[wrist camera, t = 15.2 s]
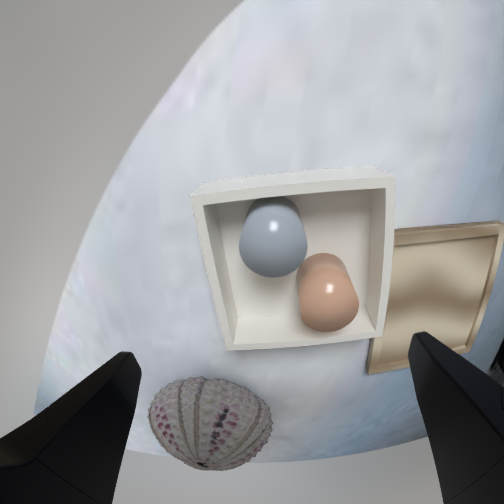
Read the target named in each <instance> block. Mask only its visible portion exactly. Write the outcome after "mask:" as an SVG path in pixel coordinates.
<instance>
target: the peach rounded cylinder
mask: <svg viewBox="0 0 504 504" xmlns="http://www.w3.org/2000/svg"><path fill="white" fill-rule="evenodd" d="M297 286H298V295H299V304H300V313H301V317H302V320H303V322H304V323H305V324H306V325H307V326H308V327H309V328H311V329H313V330H315V331H319V332H333V331H337V330H340V329H342V328H344V327H345V326H347V325H348V324H350V323H351V322H352V321H353V320H354V318H355V317H356V315H357V313H358V310H359V299H358V296H357V294H356V291H355V289H354V286H353V284H352V282H351V279H350V277H349V274H348V272H347V270H346V267H345V265H344V263H343V262H342V260H341V259H340V258H338V257H337V256H335V255H333V254H329V253H318V254H314V255H312V256H310V257H308V258H307V259H305V260H304V261H303V263H302V264H301V265H300V266H299V268H298V271H297Z"/></svg>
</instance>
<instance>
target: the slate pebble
mask: <svg viewBox="0 0 504 504" xmlns="http://www.w3.org/2000/svg"><path fill="white" fill-rule="evenodd" d="M307 249H308V244H307V238H306V234H305V231H304V227H303V223H302V219H301V215H300V212H299V210H298V208H297V207H296V205H295V204H294V203H293V202H292V201H291V200H289V199H288V198H286V197H283V196H276V197H266V198H259V199H257V200H256V201H255V202H253V204H252V205H251V206H250V207H249V209H248V211H247V214H246V218H245V221H244V225H243V229H242V232H241V236H240V240H239V252H240V256H241V258H242V260H243V262H244V263H245V265H246V266H247V267H248V268H249V269H250V270H252V271H253V272H255V273H256V274H259V275H261V276H265V277H272V278H274V277H282V276H285V275H288V274H290V273H292V272H294V271H295V270H296V269H297V268H298V267H299V266H300V265H301V264H302V263H303V261H304V259H305V257H306V254H307Z"/></svg>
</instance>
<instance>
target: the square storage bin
mask: <svg viewBox="0 0 504 504" xmlns="http://www.w3.org/2000/svg"><path fill="white" fill-rule="evenodd" d="M276 196H283V197H286V198H288V199H289V200H291V201H292V202H293V203H294V204H295V205H296V207H297V208H298V210H299V212H300V215H301V219H302V223H303V227H304V231H305V234H306V238H307V244H308V249H307V254H306V257H305V259H307V258H308V257H310V256H312V255H314V254H318V253H329V254H333V255H335V256H337V257H338V258H340V259H341V260H342V262H343V263H344V265H345V267H346V270H347V272H348V274H349V277H350V279H351V282H352V284H353V286H354V289H355V291H356V294H357V296H358V299H359V310H358V313H357V315H356V317H355V318H354V320H353V321H352V322H351V323H350V324H348V325H347V326H345V327H344V328H342V329H340V330H337V331H333V332H319V331H315V330H313V329H311V328H309V327H308V326H307V325H306V324H305V323H304V322H303V320H302V317H301V313H300V304H299V295H298V286H297V271H298V268H299V267H298V268H297V269H296V270H295V271H294V272H292V273H290V274H288V275H285V276H282V277H274V278H272V277H265V276H261V275H259V274H256V273H255V272H253V271H252V270H250V269H249V268H248V267H247V266H246V265H245V263H244V262H243V260H242V258H241V256H240V252H239V240H240V236H241V232H242V229H243V225H244V221H245V218H246V214H247V211H248V209H249V207H250V206H251V205H252V204H253V202H255V201H256V200H257V199H259V198H266V197H276ZM190 198H191V203H192V208H193V213H194V217H195V222H196V227H197V231H198V236H199V240H200V245H201V249H202V254H203V258H204V262H205V267H206V271H207V275H208V279H209V283H210V288H211V292H212V296H213V300H214V304H215V308H216V312H217V316H218V320H219V323H220V327H221V331H222V335H223V339H224V342H225V346H226V350H227V351H231V350H255V349H273V348H287V347H299V346H310V345H320V344H329V343H337V342H346V341H353V340H360V339H367V338H374V337H381V336H382V335H383V329H384V323H385V317H386V310H387V303H388V295H389V287H390V278H391V268H392V257H393V244H394V226H395V176H393V175H391V174H389V173H387V172H386V171H384V170H382V169H380V168H378V167H376V166H357V167H339V168H325V169H312V170H300V171H290V172H280V173H270V174H261V175H253V176H245V177H237V178H229V179H222V180H215V181H208V182H204V183H203V184H202V185H201V186H200V187H199V188H198V189H197V190H196V191H195V192H194V193H193V194H192V195H191V196H190ZM305 259H304V260H305Z"/></svg>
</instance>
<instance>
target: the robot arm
mask: <svg viewBox="0 0 504 504" xmlns="http://www.w3.org/2000/svg"><path fill="white" fill-rule="evenodd" d="M408 360H409V364H410V369H411V373H412V378H413V382H414V387H415V392H416V397H417V400H418V404H419V407H420V410H421V414H422V417H423V420H424V424H425V427H426V431H427V434H428V438H429V441H430V445H431V449H432V453H433V457H434V461H435V465H436V469H437V474H438V478H439V483H440V488H441V492H442V497H443V503H444V504H504V387H502V386H501V385H500V384H499V383H498V382H496V381H495V380H494V379H492V378H491V377H490V376H488V375H487V374H485V373H484V372H483V371H481V370H480V369H479V368H477V367H476V366H474V365H473V364H472V363H470V362H469V361H467V360H466V359H465V358H463V357H462V356H460V355H459V354H458V353H456V352H455V351H453V350H452V349H451V348H449V347H448V346H446V345H445V344H444V343H442V342H441V341H439V340H438V339H436V338H435V337H433V336H432V335H431V334H429V333H428V332H426V331H422V332H417V333H414V334H413V336H412V339H411V343H410V347H409V350H408ZM499 368H501V369H502V371H503V372H504V342H503V344H502V347H501V349H500V351H499V353H498V355H497V357H496V359H495V361H494V363H493V365H492V367H491V369H492V371H494V370H497V369H499ZM141 374H142V372H141V368H140V366H139V364H138V362H137V360H136V358H135V356H134V355H133V353H131V352H123V351H122V352H119V353H118V354H117V355H115V356H114V357H113V358H111V359H110V360H109V361H107V362H106V363H105V364H103V365H102V366H101V367H100V368H98V369H97V370H96V371H94V372H93V373H92V374H90V375H89V376H88V377H86V378H85V379H84V380H82V381H81V382H80V383H78V384H77V385H76V386H74V387H73V388H72V389H71V390H69V391H68V392H67V393H65V394H64V395H63V396H61V397H60V398H59V399H57V400H56V401H55V402H53V403H52V404H51V405H50V406H49V407H47V408H45V409H44V410H43V411H42V412H40V413H39V414H37V415H36V416H35V417H33V418H32V419H31V420H29V421H27V422H26V423H24V424H23V425H21V426H20V427H18V428H16V429H15V430H13V431H12V432H10V433H9V434H7V435H5V436H4V437H2V438H0V504H112V501H113V496H114V492H115V487H116V483H117V479H118V474H119V470H120V466H121V462H122V458H123V454H124V450H125V446H126V443H127V439H128V435H129V431H130V428H131V424H132V420H133V417H134V413H135V408H136V403H137V397H138V391H139V386H140V380H141Z"/></svg>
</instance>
